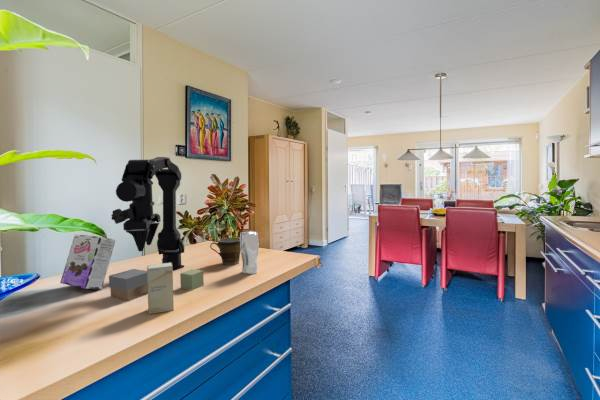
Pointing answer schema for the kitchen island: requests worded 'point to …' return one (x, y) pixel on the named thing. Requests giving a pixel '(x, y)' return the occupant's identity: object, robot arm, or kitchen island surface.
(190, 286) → the olive cube
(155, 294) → the skincare box
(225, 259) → the ceramic cup
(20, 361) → the kitchen island surface
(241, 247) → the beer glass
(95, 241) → the candy box
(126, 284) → the charcoal block
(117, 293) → the walnut block
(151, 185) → the robot arm
